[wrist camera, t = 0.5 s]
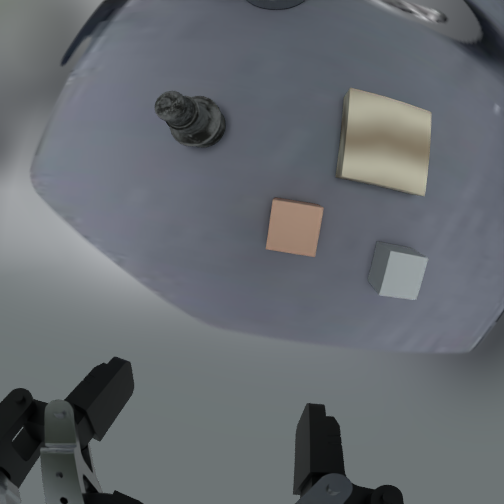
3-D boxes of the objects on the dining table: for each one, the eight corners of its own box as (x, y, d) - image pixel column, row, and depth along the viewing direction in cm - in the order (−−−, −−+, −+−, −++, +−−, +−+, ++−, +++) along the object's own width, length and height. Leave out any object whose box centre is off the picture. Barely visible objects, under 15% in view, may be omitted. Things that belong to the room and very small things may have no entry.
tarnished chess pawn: (198, 96, 29) (155, 60, 18) (237, 117, 29) (209, 83, 18) (172, 136, 31) (119, 118, 19) (210, 158, 31) (168, 146, 19)
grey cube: (376, 241, 31) (390, 250, 26) (410, 247, 30) (428, 258, 26) (367, 279, 32) (378, 295, 27) (401, 284, 32) (416, 300, 27)
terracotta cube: (275, 197, 31) (272, 199, 26) (317, 204, 31) (323, 207, 26) (268, 239, 32) (265, 249, 28) (310, 246, 32) (314, 257, 27)
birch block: (343, 98, 27) (350, 87, 24) (417, 118, 26) (431, 112, 23) (334, 177, 30) (341, 176, 26) (410, 194, 29) (424, 196, 25)
